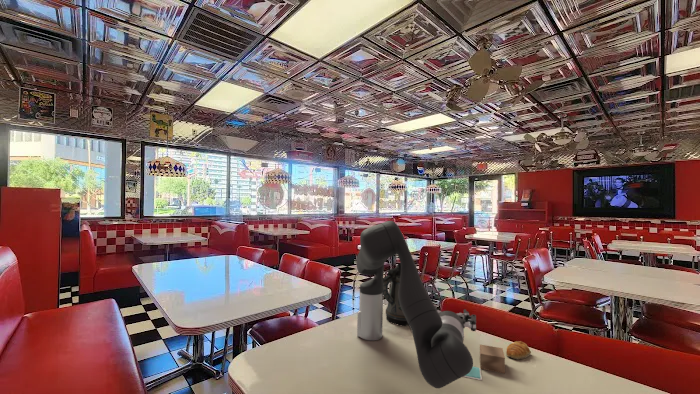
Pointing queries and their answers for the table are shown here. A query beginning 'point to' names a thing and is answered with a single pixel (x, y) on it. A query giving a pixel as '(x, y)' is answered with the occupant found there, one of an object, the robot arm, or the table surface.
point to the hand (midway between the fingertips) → (449, 310)
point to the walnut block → (492, 359)
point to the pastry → (518, 350)
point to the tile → (474, 373)
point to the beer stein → (393, 297)
